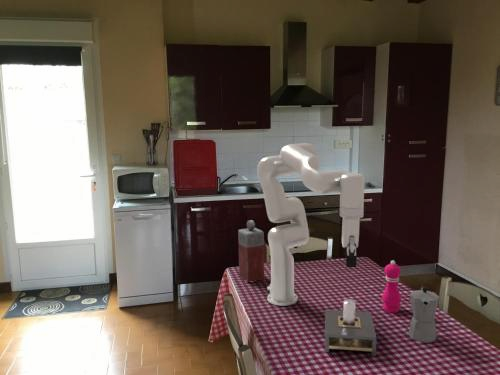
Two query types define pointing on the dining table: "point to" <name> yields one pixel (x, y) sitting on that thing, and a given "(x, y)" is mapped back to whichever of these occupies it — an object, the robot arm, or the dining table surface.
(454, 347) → the dining table surface
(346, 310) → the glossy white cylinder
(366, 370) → the dining table surface
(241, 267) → the brown lidded canister
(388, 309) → the pepper mill
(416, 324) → the coffeepot
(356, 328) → the grey square socket block
